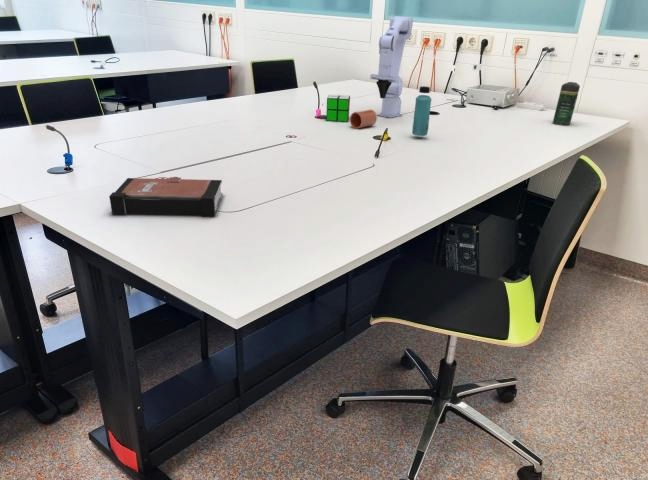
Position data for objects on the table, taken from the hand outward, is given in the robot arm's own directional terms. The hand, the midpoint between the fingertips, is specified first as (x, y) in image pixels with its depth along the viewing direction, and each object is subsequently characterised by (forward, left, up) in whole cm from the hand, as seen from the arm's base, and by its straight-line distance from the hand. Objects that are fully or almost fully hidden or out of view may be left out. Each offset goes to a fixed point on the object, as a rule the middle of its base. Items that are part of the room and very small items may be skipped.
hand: (382, 98), depth 245 cm
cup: (+10, +2, -7) cm, 13 cm away
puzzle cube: (+12, -16, -11) cm, 23 cm away
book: (+133, +30, -11) cm, 137 cm away
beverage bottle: (+13, +30, -11) cm, 34 cm away
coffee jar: (-67, +58, -11) cm, 89 cm away
